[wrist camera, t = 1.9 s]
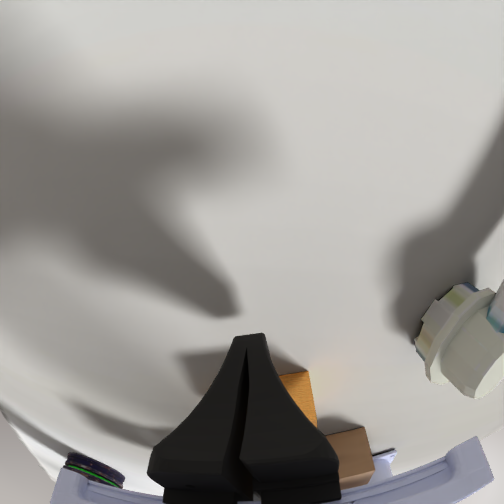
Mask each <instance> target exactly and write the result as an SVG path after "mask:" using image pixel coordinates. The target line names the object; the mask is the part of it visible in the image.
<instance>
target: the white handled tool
mask: <svg viewBox="0 0 504 504" xmlns="http://www.w3.org/2000/svg"><path fill="white" fill-rule="evenodd" d="M421 320H422V321H423V322H424V323H423V326H422V329H421V332H420V335H419V336H418V337H417V338H415V339H414V340H415V346H416V352H417V353H418V354H419V356H420V357H421V358H422V359H423V361H424V362H425V371H426V376H427V378H428V379H429V380H430V382H431V383H435V384H439V385H444V384H446V383H448V382H451V383H452V384H453V385H454V386H455V387H456V388H457V389H458V390H459V391H460V392H461V393H462V394H463V395H465V396H468V397H471V398H475V399H481V398H482V397H484V396H485V395H487V394H489V393H490V392H491V391H492V390H493V389H494V388H495V387H496V386H497V385H498V384H499V383H500V382H501V381H502V380H503V378H504V280H503V282H502V284H501V285H500V287H499V289H498V291H497V293H495V292H494V291H492V290H491V289H489V288H486V289H483V290H478V289H477V288H475V287H474V286H473V285H471V284H470V283H468V282H467V283H463V284H458V285H454V286H453V289H452V290H451V291H449V292H448V293H447V294H446V295H445V296H444V297H443V298H442V299H440V300H439V301H438V300H436V299H435V300H434V301H433V303H432V304H431V306H430V307H429V309H428V310H427V312H426V313H425V315H424V316H423V317H422V319H421Z"/></svg>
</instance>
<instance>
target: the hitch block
mask: <svg viewBox="0 0 504 504" xmlns="http://www.w3.org/2000/svg"><path fill="white" fill-rule="evenodd" d="M325 437H326V438H327V440H328V441H329V443H330V444H331V446H332V447H333V449H334V450H335V452H336V454H337V456H338V459H339V463H340V464H339V470H338V472H339V479H340V481H339V483H340V489H341V490H345V489H349V488H354V487H358V486H362V485H366V484H368V482H369V481H370V479H371V477H372V475H373V473H374V472H375V466H374V462H373V458H372V454H371V450H370V446H369V442H368V438H367V435H366V431H365V427H362V428H358V429H354V430H350V431H345V432H341V433H336V434H331V435H326V436H325Z"/></svg>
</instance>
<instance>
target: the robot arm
mask: <svg viewBox="0 0 504 504" xmlns="http://www.w3.org/2000/svg"><path fill="white" fill-rule="evenodd" d="M396 454H397V451H396V450H393V451H390V452H387V453H383V454H380V455H377V456H373V457H372V458H373V462H374V466H375V472H374V473H373V475H372V477H371V479H370V481H369V482H368V484H366V485H362V486H358V487H354V488H349V489H345V490H341V489H340V483H339V481H340V479H339V472H338V470H339V464H340V463H339V459H338V456H337V454H336V452H335V450H334V449H333V447H332V446H331V444H330V443H329V441H328V440H327V438H326V437H325V435H323V434H322V433H321V432H320V431H319V430H318V429H317V428H316V427H315V426H314V425H313V423H312V422H311V421H310V420H309V419H308V418H307V417H306V416H305V414H304V413H303V412H302V411H301V409H300V408H299V407H298V406H297V404H296V403H295V401H294V400H293V399H292V397H291V396H290V394H289V393H288V391H287V390H286V388H285V386H284V385H283V383H282V381H281V379H280V378H279V376H278V374H277V372H276V370H275V368H274V366H273V363H272V361H271V358H270V354H269V350H268V346H267V341H266V337H265V334H263V333H257V334H250V335H243V336H235V338H234V339H233V342H232V344H231V347H230V349H229V352H228V354H227V356H226V359H225V361H224V363H223V365H222V367H221V369H220V371H219V373H218V374H217V376H216V378H215V380H214V381H213V383H212V385H211V386H210V388H209V390H208V391H207V393H206V394H205V396H204V397H203V398H202V400H201V401H200V402H199V404H198V405H197V406H196V407H195V409H194V410H193V411H192V412H191V414H190V415H189V416H188V417H187V418H186V419H185V420H184V421H183V422H182V423H181V424H180V425H179V426H178V427H177V428H176V429H175V430H174V431H173V432H172V433H171V434H170V435H168V436H167V437H166V438H165V439H163V440H162V441H161V442H160V443H158V444H157V445H156V446H154V448H153V451H152V453H151V457H150V460H149V465H148V470H147V475H148V476H149V477H150V478H151V479H152V480H153V481H155V482H156V483H158V484H159V485H161V486H163V487H164V494H163V496H157V495H150V494H145V493H139V492H134V491H129V490H125V489H120V488H116V487H112V486H108V485H105V484H101V483H97V482H94V481H90V480H88V479H87V478H86V477H84V476H83V475H81V474H79V473H76V472H74V471H71V470H68V469H65V468H61V469H60V472H59V475H58V478H57V482H56V485H55V488H54V491H53V494H52V498H51V501H50V504H455V503H457V502H459V501H461V500H463V499H465V498H467V497H468V496H470V495H472V494H473V493H475V492H477V491H478V490H480V489H481V488H483V487H484V486H486V485H487V484H489V483H490V482H492V481H493V480H494V477H493V474H492V471H491V469H490V466H489V463H488V461H487V458H486V456H485V454H484V451H483V449H482V446H481V444H480V441H479V439H478V437H477V436H475V437H473V438H471V439H469V440H467V441H465V442H463V443H461V444H459V445H457V446H455V447H454V448H452V449H451V450H450V451H448V453H447V454H446V456H444V457H442V458H440V459H437V460H435V461H433V462H430V463H428V464H425V465H423V466H420V467H418V468H415V469H413V470H410V471H407V472H404V473H402V474H399V475H396V476H393V475H392V471H391V467H390V464H391V462H392V460H393V459H394V457H395V455H396Z"/></svg>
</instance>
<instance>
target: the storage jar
mask: <svg viewBox="0 0 504 504" xmlns="http://www.w3.org/2000/svg"><path fill="white" fill-rule="evenodd" d="M67 457H68V459H67V461H66V462H65V465H64V466H63V468H65V469H68V470H71V471H74V472H76V473H79V474H81V475H83V476H84V477H86V478H87V479H88V480H90V481H94V482H97V483H101V484H105V485H108V486H112V487H116V488H120V489H122V488H123V485H122V484H123V482H124V480H125V477H124V476H123V475H122V474H121V473H120V472H118V471H116V470H115V469H113V468H111V467H109V466H107V465H105V464H103V463H101V462H98V461H96V460H94V459H91V458H89V457H86V456H83V455H80V454H77V453H68V456H67Z"/></svg>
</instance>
